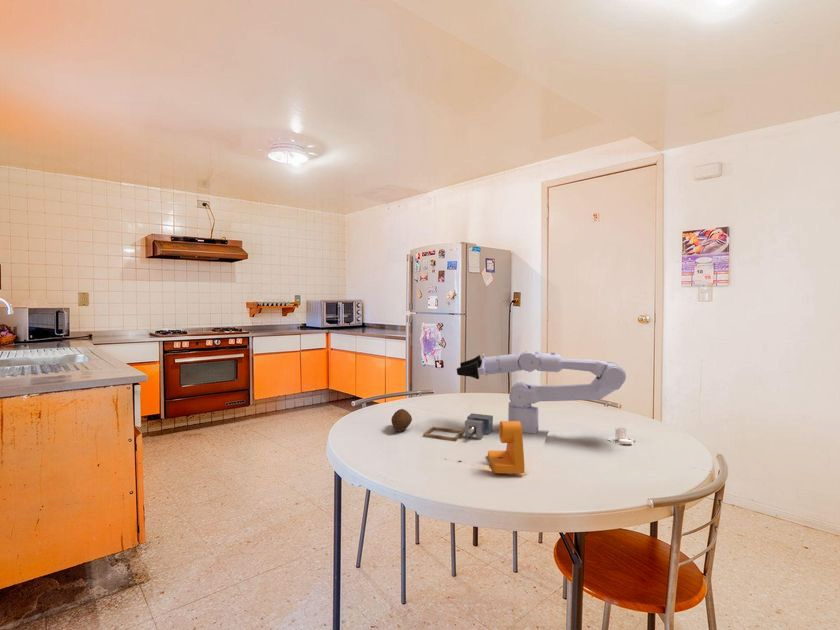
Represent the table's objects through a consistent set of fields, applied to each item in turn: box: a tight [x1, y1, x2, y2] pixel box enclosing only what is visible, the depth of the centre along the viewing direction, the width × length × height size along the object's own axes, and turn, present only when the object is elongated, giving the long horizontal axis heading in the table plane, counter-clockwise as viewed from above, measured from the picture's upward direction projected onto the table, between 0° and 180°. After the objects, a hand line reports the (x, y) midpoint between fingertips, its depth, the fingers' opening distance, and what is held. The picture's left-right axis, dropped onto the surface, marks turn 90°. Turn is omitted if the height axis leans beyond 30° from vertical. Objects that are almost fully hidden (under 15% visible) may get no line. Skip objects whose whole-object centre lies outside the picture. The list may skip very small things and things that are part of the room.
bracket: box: [487, 420, 525, 474], centre depth 111 cm, size 11×7×12 cm, turn 1°
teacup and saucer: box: [613, 427, 634, 445], centre depth 134 cm, size 9×8×4 cm
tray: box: [422, 426, 465, 442], centre depth 134 cm, size 10×8×2 cm
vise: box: [466, 412, 494, 435], centre depth 135 cm, size 7×15×6 cm, turn 157°
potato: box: [391, 408, 413, 432], centre depth 143 cm, size 7×12×7 cm, turn 3°
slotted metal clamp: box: [464, 418, 484, 440], centre depth 132 cm, size 5×2×5 cm, turn 67°
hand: (458, 368), depth 146 cm, fingers open, 7 cm apart
